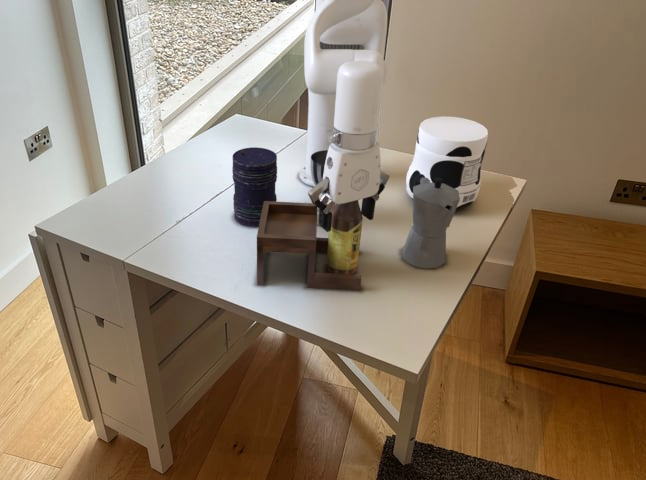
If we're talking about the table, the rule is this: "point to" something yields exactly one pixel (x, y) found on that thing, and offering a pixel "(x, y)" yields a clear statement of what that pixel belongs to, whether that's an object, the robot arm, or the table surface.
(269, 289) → the table surface
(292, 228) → the step rack
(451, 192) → the coffeepot
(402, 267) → the table surface
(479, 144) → the milk container
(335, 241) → the sauce bottle
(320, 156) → the wine glass
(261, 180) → the dark blue cylinder
